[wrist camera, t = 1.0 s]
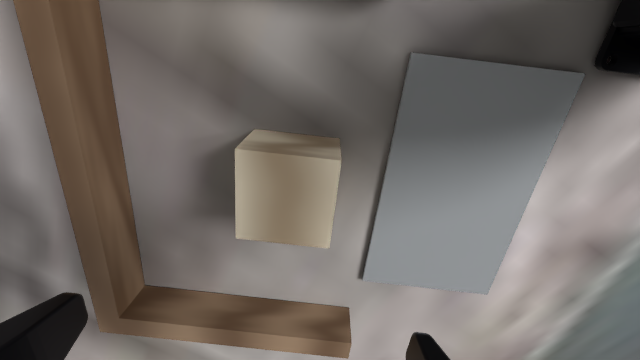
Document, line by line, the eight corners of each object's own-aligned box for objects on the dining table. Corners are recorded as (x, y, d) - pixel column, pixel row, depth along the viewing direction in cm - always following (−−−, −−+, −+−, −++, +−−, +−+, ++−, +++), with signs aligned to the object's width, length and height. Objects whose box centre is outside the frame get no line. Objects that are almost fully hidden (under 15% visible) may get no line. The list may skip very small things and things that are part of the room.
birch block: (339, 137, 17) (341, 160, 14) (329, 211, 19) (329, 248, 16) (255, 128, 17) (234, 148, 14) (253, 203, 19) (235, 238, 16)
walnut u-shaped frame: (422, -56, 14) (445, -83, 11) (346, 321, 23) (348, 358, 20) (48, -103, 13) (-25, -143, 11) (127, 298, 23) (100, 331, 20)
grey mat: (581, 73, 16) (585, 73, 15) (485, 291, 21) (487, 294, 21) (410, 52, 15) (411, 52, 15) (362, 277, 21) (362, 280, 21)
